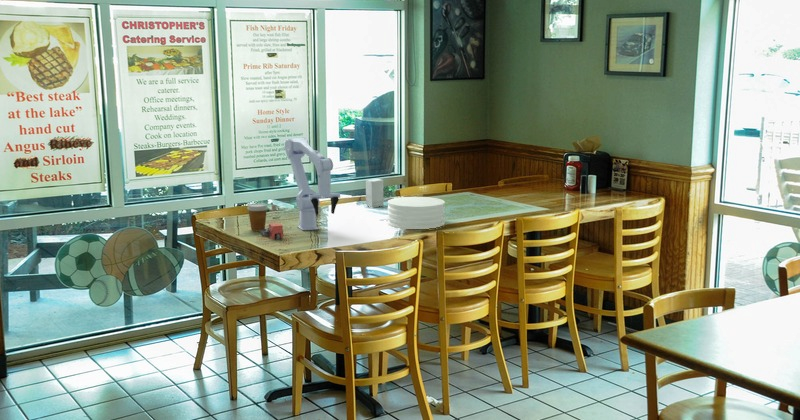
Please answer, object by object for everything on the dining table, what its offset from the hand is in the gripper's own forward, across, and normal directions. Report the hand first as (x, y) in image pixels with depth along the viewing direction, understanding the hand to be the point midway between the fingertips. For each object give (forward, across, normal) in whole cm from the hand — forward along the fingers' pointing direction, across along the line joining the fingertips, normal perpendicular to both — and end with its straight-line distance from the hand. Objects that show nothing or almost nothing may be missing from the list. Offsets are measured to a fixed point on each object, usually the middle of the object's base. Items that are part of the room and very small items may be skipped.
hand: (324, 213), depth 388 cm
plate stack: (+10, +48, +6) cm, 50 cm away
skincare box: (+10, +46, +58) cm, 75 cm away
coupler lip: (+9, -23, +4) cm, 25 cm away
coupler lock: (+10, -23, +1) cm, 25 cm away
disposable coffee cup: (+10, -27, +20) cm, 35 cm away
